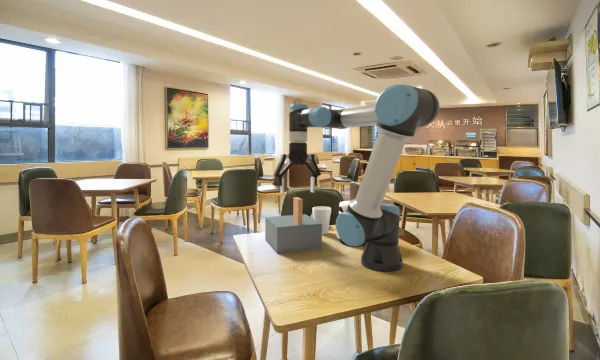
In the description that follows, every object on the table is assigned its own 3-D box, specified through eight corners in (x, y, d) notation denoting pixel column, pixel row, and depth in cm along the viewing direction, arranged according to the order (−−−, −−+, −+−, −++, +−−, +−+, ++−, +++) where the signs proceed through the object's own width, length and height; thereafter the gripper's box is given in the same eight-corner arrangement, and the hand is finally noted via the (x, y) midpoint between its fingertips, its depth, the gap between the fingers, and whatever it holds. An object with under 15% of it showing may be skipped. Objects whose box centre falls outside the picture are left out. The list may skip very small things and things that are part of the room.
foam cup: (309, 234, 162) (309, 208, 161) (316, 230, 170) (317, 205, 169) (326, 236, 158) (326, 210, 156) (333, 232, 166) (334, 207, 164)
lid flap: (322, 225, 138) (322, 198, 137) (277, 229, 131) (277, 200, 130) (305, 216, 157) (305, 191, 155) (265, 219, 150) (265, 193, 149)
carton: (321, 248, 139) (322, 226, 138) (277, 253, 132) (277, 229, 131) (305, 236, 158) (305, 216, 157) (265, 240, 151) (265, 219, 150)
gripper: (322, 142, 142) (321, 190, 144) (266, 141, 133) (266, 192, 135) (329, 142, 135) (328, 192, 137) (271, 141, 126) (271, 195, 128)
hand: (297, 192), depth 136 cm, fingers open, 13 cm apart
